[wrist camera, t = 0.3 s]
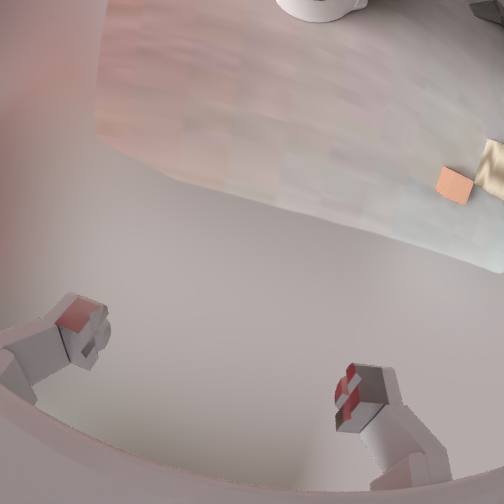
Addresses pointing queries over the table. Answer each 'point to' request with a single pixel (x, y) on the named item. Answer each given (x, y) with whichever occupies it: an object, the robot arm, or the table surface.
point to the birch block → (492, 169)
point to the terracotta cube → (454, 186)
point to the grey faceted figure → (489, 11)
